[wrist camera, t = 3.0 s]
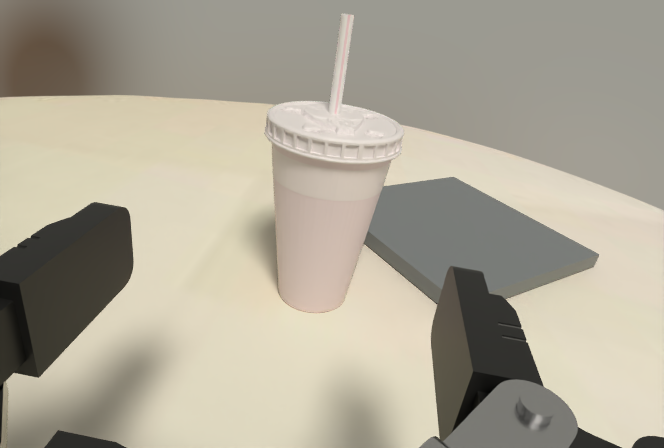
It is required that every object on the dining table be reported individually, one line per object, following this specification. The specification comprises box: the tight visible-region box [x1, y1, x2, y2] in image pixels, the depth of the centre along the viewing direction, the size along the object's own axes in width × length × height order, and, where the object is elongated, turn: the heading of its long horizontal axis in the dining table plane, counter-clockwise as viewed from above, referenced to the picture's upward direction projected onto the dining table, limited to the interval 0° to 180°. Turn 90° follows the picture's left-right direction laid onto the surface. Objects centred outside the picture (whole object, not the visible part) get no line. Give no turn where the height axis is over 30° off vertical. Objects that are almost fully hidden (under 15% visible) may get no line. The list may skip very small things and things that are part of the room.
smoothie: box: [264, 14, 404, 313], centre depth 23 cm, size 6×6×14 cm
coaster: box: [364, 177, 599, 304], centre depth 34 cm, size 14×14×1 cm
